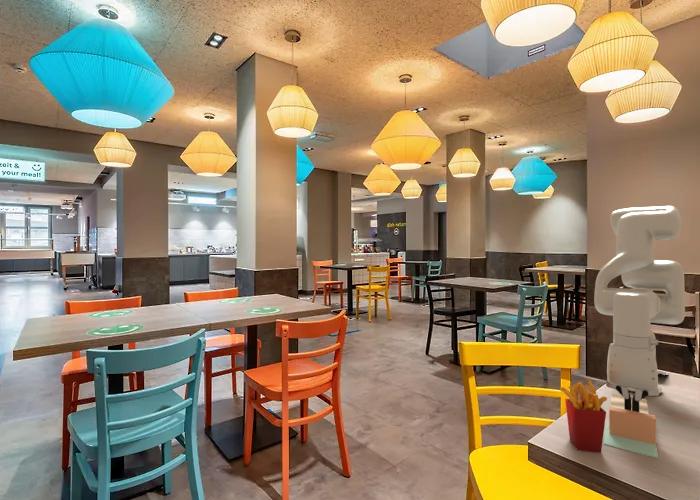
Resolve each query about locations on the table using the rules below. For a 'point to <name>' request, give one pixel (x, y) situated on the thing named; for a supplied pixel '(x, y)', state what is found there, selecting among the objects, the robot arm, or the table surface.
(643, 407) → the sheet
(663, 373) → the smartphone
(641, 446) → the mat
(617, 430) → the card
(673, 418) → the table surface
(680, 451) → the table surface
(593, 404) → the french fries
